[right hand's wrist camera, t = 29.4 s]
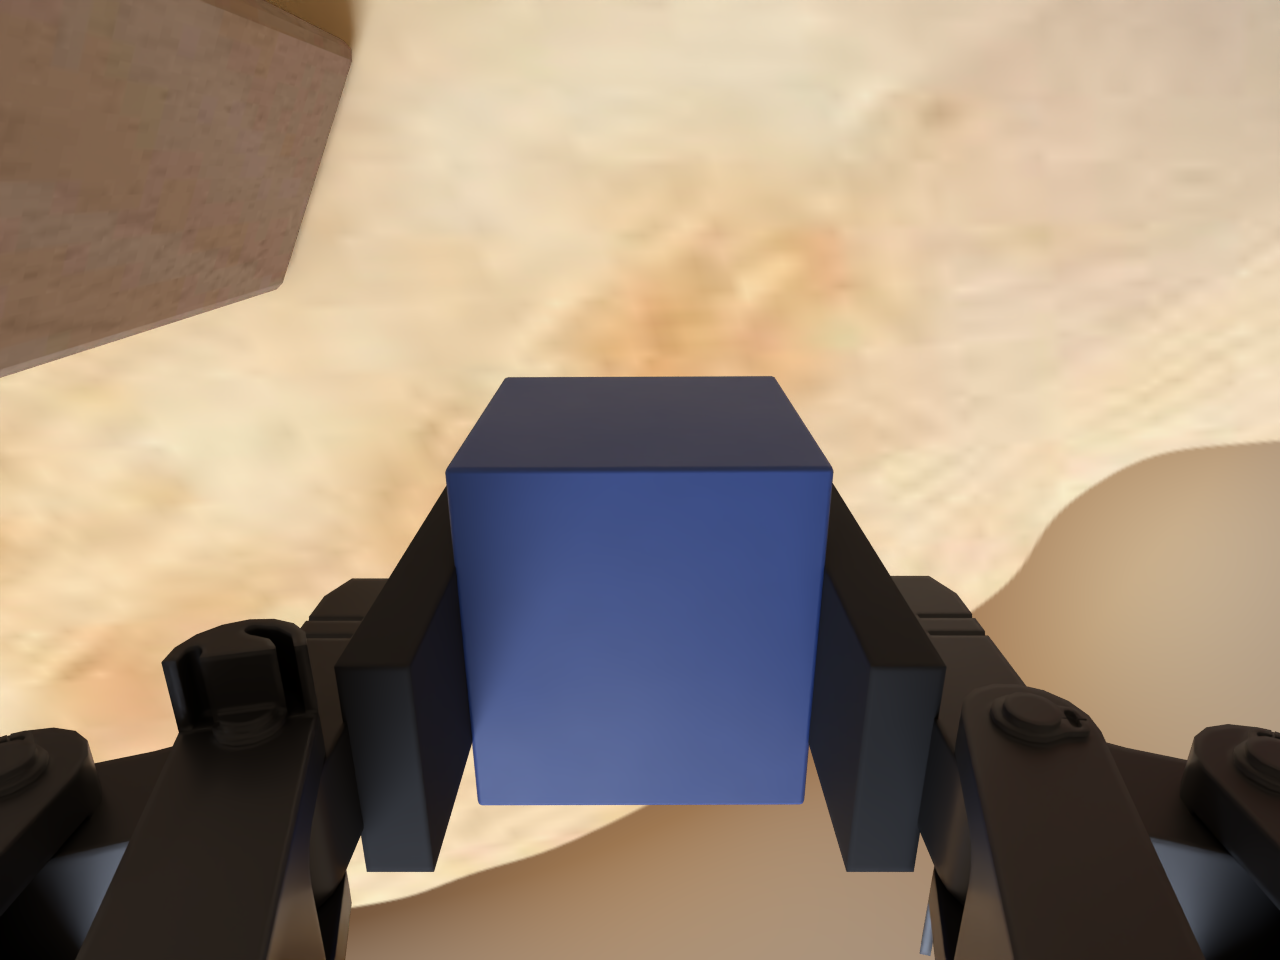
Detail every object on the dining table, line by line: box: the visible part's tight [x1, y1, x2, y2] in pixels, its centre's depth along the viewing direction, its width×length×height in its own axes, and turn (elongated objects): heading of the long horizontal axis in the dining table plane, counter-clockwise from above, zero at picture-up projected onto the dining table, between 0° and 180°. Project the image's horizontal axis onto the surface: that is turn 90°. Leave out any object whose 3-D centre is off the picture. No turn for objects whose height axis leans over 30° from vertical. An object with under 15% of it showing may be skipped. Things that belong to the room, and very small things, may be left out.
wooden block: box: [0, 0, 352, 378], centre depth 22 cm, size 10×10×20 cm
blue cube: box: [445, 376, 833, 805], centre depth 13 cm, size 5×5×5 cm
